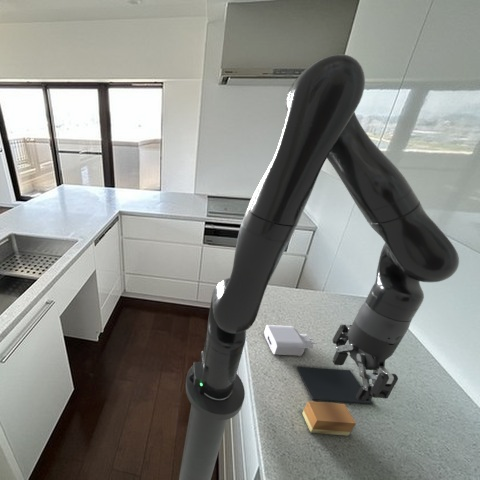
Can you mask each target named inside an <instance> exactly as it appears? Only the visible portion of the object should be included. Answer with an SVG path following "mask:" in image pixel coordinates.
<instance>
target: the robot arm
mask: <svg viewBox="0 0 480 480" xmlns="http://www.w3.org/2000/svg"><path fill="white" fill-rule="evenodd" d="M365 86H366V78H365V72H364V69H363V67H362V65H361V64H360V62H359V61H358V60H357V59H356V58H354V57H353V56H351V55H348V54H342V53H339V54H333V55H329V56H325V57H322V58H320V59H318V60H317V61H315V62H313V63H312V64H311V65H309V66H308V67H306V68H305V69H304V70H303V71H302V72H301V73H300V74H299V75H298V77H297V78H295V80H294V81H293V82H292V84H291V86H290V87H289V90H288V91H287V95H286V97H285V98H286V99H285V111H286V118H285V121H284V125H283V127H282V132H281V135H280V139H279V142H278V145H277V147H276V150H275V153H274V155H273V158H272V160H271V161H270V163H269V165H268V166H267V169H266V170H265V172H264V174H263V175H262V177H261V179H260V181H259V182H258V184H257V186H256V188H255V189H254V191H253V193H252V196H251V198H250V199H249V202H248V205H247V207H246V210H245V212H244V215H243V218H242V220H241V224H240V225H239V226H240V227H239V230H238V235H237V238H236V245H235V251H234V257H233V263H232V269H231V273H230V277H228V278H225V279H222V280H220V281H219V282H218V283H217V284H216V285H215V286H214V288H213V291H212V294H211V300H210V306H209V312H208V319H207V328H206V336H205V342H204V348H203V350H202V351H201V353H200V358H199V361H193V365H192V366H193V373H192V374H190V376H189V379H190V381H191V382H192V383H194V387H199V393H200V394H203V395H205V396H206V397H207V398H209V399H211V400H213V401H225V400H227V399H228V398H229V397H230V396H231V394H232V390H233V385H234V381H235V378H236V374H237V375H238V370H239V366H240V362H241V359H242V355H243V352H244V347H245V344H246V340H247V330H249V329H250V328H251V327H252V326H253V325H254V323H255V322H256V319H257V317H258V313H259V310H260V308H261V304H262V300H263V299H264V295H265V293H266V290H267V287H268V285H269V283H270V281H271V279H272V277H273V275H274V273H275V271H276V269H277V267H278V265H279V263H280V261H281V260H282V257H283V254H284V252H285V250H286V249H287V247H288V245H289V243H290V241H291V239H292V237H293V235H294V233H295V231H296V229H297V227H298V224H299V222H300V220H301V218H302V215H303V213H304V211H305V208H306V206H307V204H308V201H309V199H310V197H311V195H312V192H313V191H314V188H315V185H316V183H317V180H318V177H319V175H320V172H321V170H322V169H323V166H324V164H325V162H326V161H328V162H329V163H330V165H331V166H332V167H333V169H334V170H335V172H336V174H337V175H338V177H339V178H340V180H341V182H342V183H343V185H344V187H345V188H346V190H347V192H348V194H349V195H350V197H351V199H352V200H353V202H354V204H355V205H356V206H357V208H358V210H359V211H360V213H361V214H362V216H363V217H364V219H365V221H366V222H367V224H368V225H369V226H370V228H372V230H373V231H374V232H375V233H376V234H377V235H379V236H380V237H381V239H382V240H383V241H384V244H383V246H382V249H381V251H380V255H379V259H378V263H377V269H376V276H375V281H374V284H373V285H372V287H371V288H370V291H369V292H368V295H367V297H366V298H365V301H364V302H363V303H362V305H361V306H360V308H359V309H358V311H357V313H356V315H355V318H354V320H353V322H352V324H343V323H342V324H339V327H338V328H337V330H336V332H335V334H334V335H333V338H332V343H333V344H335V346H336V347H335V353H334V355H333V358H332V363H333V365H334V366H344V364H345V363H346V361H347V358H348V356H349V357H350V358H351V359H352V360H353V361H354V363H355V365H356V366H357V368H358V375H359V377H361V380H362V381H361V382H362V385H361V388H360V389H359V391H358V393H357V394H356V398H357V400H359V401H366V402H369V401H370V400H371V401H372V399H373V398H374V399H385V400H386V399H388V398H389V397H390V395H391V392H393V390H394V388H395V386H396V384H397V382H398V380H399V377H398V376H397V374H396V373H391V372H390V371H389V370H388V369H387V368H386V367H385V366H386V360H388V359H389V358H391V357H392V356H393V355H394V354H395V352H396V350H397V348H398V347H399V345H400V343H401V342H402V340H403V339H404V337H405V335H406V334H407V332H408V330H409V328H410V326H411V323H412V321H413V319H414V317H415V316H416V314H417V312H418V311H419V309H420V307H421V306H422V304H423V302H424V299H425V293H424V291H423V288H422V286H421V283H420V282H422V283H439V282H443V281H445V280H448V279H450V278H451V277H452V276H454V274H455V273H457V271H458V268H459V265H460V256H459V253H458V251H457V249H456V247H455V246H454V244H453V243H452V242H451V240H450V239H449V238H448V237H447V236H446V235H445V233H444V232H443V231H442V230H441V228H439V226H438V225H437V224H436V223H435V222H434V220H433V219H432V218H431V217H430V216H429V215H428V213H427V212H426V211H425V209H424V207H423V205H422V203H421V201H420V200H419V198H418V196H417V195H416V193H415V191H414V190H413V188H412V186H411V185H410V183H409V181H408V180H407V179H406V178H405V176H404V174H403V173H402V172H401V171H400V169H399V168H398V167H397V166H396V165H395V164H394V163H393V162H392V160H391V159H390V158H388V157H387V155H385V154H384V152H383V151H382V150H381V149H380V148H379V147H378V146H377V145H376V144H375V142H374V141H373V140H372V139H371V137H370V136H369V135H368V133H366V131H365V129H364V128H363V126H362V125H361V123H360V121H359V119H358V117H357V115H356V110H357V108H358V106H359V104H360V102H361V101H362V98H363V96H364V90H365ZM347 343H348V344H347ZM367 371H372V373H371V372H370V373H369V372H368V373H367ZM192 377H193V378H192ZM370 380H371V383H370Z"/></svg>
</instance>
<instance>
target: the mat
mask: <svg viewBox="0 0 480 480" xmlns="http://www.w3.org/2000/svg"><path fill="white" fill-rule="evenodd" d="M296 370H297V371H298V374H299V375H300V378H301V379H302V382H303V384H304V386H305V388H306V390H307V392H308V394H309V396H310V397H311V400H312V401H318V402H332V403H345V404H346V403H347V404H360V405H374V402H373V401H372V399H371V400H370V401H369V402H366V401H359V400H357V398H356V394H357V393H358V391H359V389H360V388H361V386H362V385H361V384H360V382H359V381H358V379H357V378H356V377H355V375H354V374H353V372H352V371H351V370H349V369H339V368H327V367H326V368H324V367H313V366H312V367H311V366H300V365H299V366H298V365H297V366H296Z"/></svg>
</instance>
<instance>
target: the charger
mask: <svg viewBox="0 0 480 480" xmlns="http://www.w3.org/2000/svg"><path fill="white" fill-rule="evenodd" d="M263 335H264V338H265V340H266V342H267V345H268V346H269V348H270V351H271V353H272V354H273V355H278V356H282V355H283V356H303V354H304V352H305V350H306V349H314V345H317V342H315V341H313V340H315V338H313V337H309V336H308V335H307V334H306V333H300V332H299V331H298V330H297V328H296V327H294V326H292V325H277V324H275V325H274V324H266V325H265V329H264V332H263Z"/></svg>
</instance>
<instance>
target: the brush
mask: <svg viewBox="0 0 480 480" xmlns="http://www.w3.org/2000/svg"><path fill="white" fill-rule="evenodd" d="M302 416H303V418H304V421H305V423H306V426H307V427H308V430H309V432H310V434H311V433H312V434H321V435H322V434H324V435H336V436H349V435H350V433H352V431H353V429H354V428H355V426H356V425H357V423H356V420H355V419H354V417H353V416H352V413H351V412H350V411H349V409H348V407H347V406H346V403H339V402H326V401H313V400H312V401H311V400H308V401H307V402H306V405H305V406H304V408H303V410H302Z"/></svg>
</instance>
